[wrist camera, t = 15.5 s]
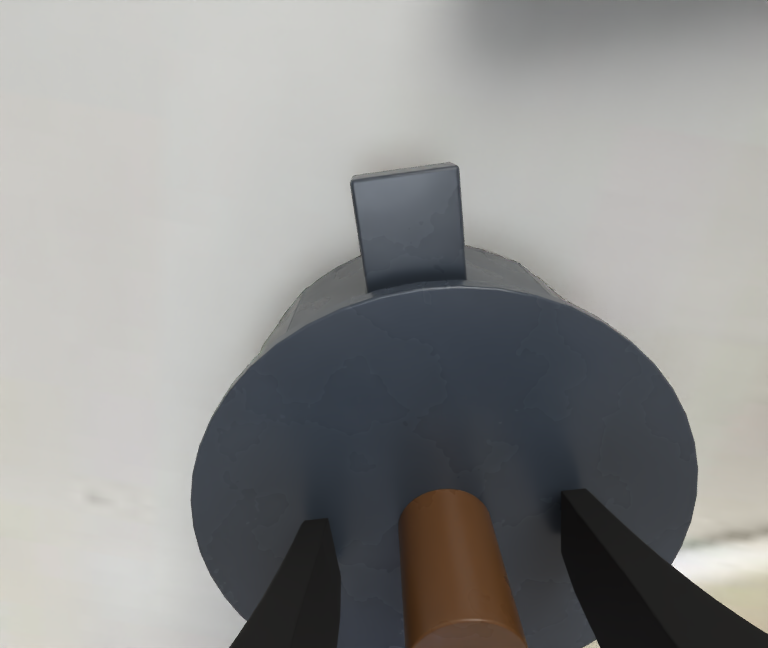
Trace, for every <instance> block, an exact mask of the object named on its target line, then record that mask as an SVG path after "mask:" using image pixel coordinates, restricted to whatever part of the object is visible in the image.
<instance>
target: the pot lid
mask: <svg viewBox="0 0 768 648" xmlns="http://www.w3.org/2000/svg"><path fill="white" fill-rule="evenodd" d="M697 478H698V466H697V458H696V449H695V442H694V438H693V435H692V432H691V428H690V425H689V422H688V419H687V415H686V413H685V411H684V409H683V407H682V405H681V403H680V401H679V399H678V397H677V395H676V393H675V391H674V389H673V388H672V386H671V385H670V384H669V382H668V381H667V380H666V378H665V377H664V376H663V374H662V373H661V372H660V370H659V369H658V368H657V366H656V365H655V364H654V363H653V362H652V361H651V360H650V359H649V358H648V357H647V356H646V355H645V354H644V353H643V352H642V351H641V350H640V349H639V348H637V347H636V346H635V345H634V344H633V343H632V342H631V341H630V340H629V339H628V338H627V337H625V336H624V335H623V334H622V333H620V332H619V331H617V330H616V329H614V328H613V327H611V326H610V325H609V324H607V323H606V322H604V321H603V320H601V319H600V318H599V317H597V316H595V315H593V314H591V313H589V312H587V311H585V310H583V309H581V308H579V307H577V306H575V305H573V304H571V303H569V302H567V301H565V300H562V299H559V298H556V297H553V296H550V295H547V294H544V293H541V292H538V291H535V290H532V289H528V288H523V287H517V286H512V285H507V284H501V283H496V282H485V281H468V280H445V281H430V282H416V283H411V284H406V285H401V286H395V287H390V288H385V289H380V290H376V291H373V292H370V293H367V294H364V295H361V296H358V297H355V298H352V299H349V300H346V301H343V302H341V303H338V304H336V305H334V306H332V307H330V308H328V309H326V310H324V311H322V312H320V313H317V314H315V315H313V316H311V317H309V318H307V319H306V320H304V321H303V322H301V323H300V324H298V325H297V326H295V327H294V328H292V329H291V330H289V331H287V332H286V333H284V334H283V335H281V336H280V337H278V338H277V339H276V340H275V341H274V342H273V343H272V344H270V345H269V346H268V347H267V348H266V349H265V350H263V351H262V352H261V353H260V354H259V355H258V356H256V357H255V358H254V359H253V360H252V361H251V362H250V364H249V365H248V366H247V367H246V368H245V369H244V371H243V372H242V373H241V374H240V375H239V376H238V377H237V379H236V380H235V381H234V382H233V383H232V385H231V386H230V388H229V389H228V391H227V393H226V394H225V396H224V397H223V399H222V401H221V402H220V404H219V405H218V407H217V408H216V410H215V412H214V414H213V416H212V417H211V419H210V422H209V424H208V426H207V429H206V431H205V434H204V436H203V438H202V441H201V443H200V445H199V449H198V453H197V457H196V461H195V465H194V470H193V475H192V489H191V508H192V518H193V527H194V531H195V535H196V539H197V542H198V546H199V550H200V553H201V555H202V557H203V560H204V562H205V564H206V566H207V568H208V571H209V573H210V575H211V577H212V578H213V580H214V581H215V583H216V584H217V586H218V588H219V589H220V591H221V592H222V594H223V595H224V597H225V598H226V599H227V600H228V601H229V603H230V604H231V605H232V606H233V607H234V608H235V610H236V611H237V612H238V613H239V614H240V615H241V616H242V617H243V618H244V619H245V620H246V621H248V619H249V618H250V616H251V615H252V613H253V611H254V610H255V608H256V607H257V605H258V604H259V602H260V600H261V599H262V597H263V595H264V594H265V592H266V590H267V589H268V587H269V585H270V583H271V582H272V580H273V578H274V576H275V575H276V573H277V571H278V569H279V568H280V566H281V564H282V562H283V560H284V558H285V556H286V554H287V553H288V551H289V549H290V547H291V545H292V543H293V541H294V539H295V537H296V534H297V532H298V530H299V528H300V526H301V524H302V523H303V522H304V521H305V520H314V519H322V518H328V520H329V524H330V529H331V533H332V538H333V542H334V547H335V551H336V556H337V560H338V565H339V569H340V574H341V610H340V625H339V634H338V642H337V648H583V647H584V646H586V645H588V644H590V643H592V642H593V641H595V640H596V637H595V635H594V633H593V631H592V629H591V627H590V625H589V622H588V620H587V618H586V616H585V614H584V612H583V610H582V607H581V605H580V603H579V601H578V599H577V596H576V594H575V592H574V589H573V586H572V583H571V580H570V578H569V575H568V572H567V569H566V566H565V563H564V560H563V557H562V554H561V491H566V490H575V489H584V488H586V489H587V490H588V491H590V492H591V493H592V494H593V495H594V496H595V497H596V498H597V499H598V500H599V501H600V502H601V503H602V504H603V505H604V506H605V507H606V508H607V509H608V510H609V511H610V512H612V513H613V514H614V515H615V516H616V517H617V518H618V519H619V520H620V521H621V522H622V523H623V524H624V525H625V526H627V527H628V528H629V529H630V530H631V531H632V532H633V533H634V534H635V535H636V536H638V537H639V538H640V539H641V540H642V541H643V542H644V543H646V544H647V545H648V546H649V547H650V548H651V549H653V550H654V551H655V552H656V553H657V554H658V555H659V556H661V557H662V558H663V559H664V560H665V561H667V562H668V563H669V564H670V565H671V564H672V563H673V561H674V559H675V557H676V555H677V554H678V552H679V550H680V548H681V546H682V544H683V541H684V539H685V536H686V533H687V531H688V528H689V526H690V523H691V520H692V515H693V510H694V506H695V501H696V496H697Z"/></svg>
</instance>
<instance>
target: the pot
mask: <svg viewBox="0 0 768 648" xmlns="http://www.w3.org/2000/svg"><path fill="white" fill-rule="evenodd" d="M350 186H351V193H352V199H353V206H354V213H355V219H356V226H357V232H358V239H359V246H360V252H361V256H359V257H357V258H355V259H353V260H351V261H349V262H347V263H345V264H342V265H340V266H338V267H337V268H335V269H334V270H332V271H330V272H329V273H327V274H326V275H324V276H323V277H321V278H320V279H318V280H317V281H316V282H315V283H314V284H313V285H311V286H310V287H308V288H306V289H305V291H303V292H302V293H301V294H300V296H299V297H298V299H297V300H296V301H295V302H294V303H293V304H292V306H291V307H290V308H289V309H288V310H287V311H286V313H285V314H284V316H283V317H282V319H281V320H280V322H279V324H278V325H277V327H276V328H275V329H274V331H273V332H272V333H271V335H270V336H269V338H268V339H267V340H266V342H265V343H264V345H263V347H262V349H261V351H260V353H261V352H262V351H263V350H265V349H266V348H267V347H268V346H269V345H270V344H272V343H273V342H274V341H275V340H276V339H277V338H278V337H280V336H281V335H283V334H284V333H286V332H287V331H289V330H291V329H292V328H294V327H295V326H297V325H298V324H300V323H301V322H303V321H304V320H306V319H307V318H309V317H311V316H313V315H315V314H317V313H320V312H322V311H324V310H326V309H328V308H330V307H332V306H334V305H336V304H338V303H341V302H343V301H346V300H349V299H352V298H355V297H358V296H361V295H364V294H367V293H370V292H373V291H376V290H380V289H385V288H390V287H395V286H401V285H406V284H411V283H416V282H430V281H445V280H468V281H485V282H496V283H501V284H507V285H512V286H517V287H523V288H528V289H532V290H535V291H538V292H541V293H544V294H547V295H550V296H553V297H556V298H559V299H562V300H564V299H563V298H562V297H560V296H559V295H558V294H557V293H556V292H554V291H553V290H552V289H551V288H549V287H548V286H547V285H546V284H545V283H544V282H543V281H541V280H540V279H539V278H538V277H536V276H535V275H533V274H532V273H531V272H530V271H528V270H527V269H526V268H525V267H523V266H522V265H521V264H520V263H517V262H516V261H512V260H509V259H506V258H504V257H502V256H499V255H496V254H493V253H490V252H487V251H485V250H482V249H479V248H473V247H468V246H465V243H464V229H463V215H462V201H461V187H460V173H459V167H458V166H457V165H455V164H453V163H451V162H447V163H440V164H433V165H426V166H418V167H411V168H404V169H397V170H389V171H382V172H375V173H368V174H360V175H354V176H353V177H352V179H351V182H350ZM260 353H259V354H260Z"/></svg>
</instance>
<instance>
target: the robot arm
mask: <svg viewBox="0 0 768 648" xmlns="http://www.w3.org/2000/svg"><path fill="white" fill-rule="evenodd" d="M561 554H562V557H563V560H564V563H565V566H566V569H567V572H568V575H569V578H570V580H571V583H572V586H573V589H574V592H575V594H576V596H577V599H578V601H579V603H580V605H581V607H582V610H583V612H584V614H585V616H586V618H587V620H588V622H589V625H590V627H591V629H592V631H593V633H594V635H595V637H596V639H597V642H598V644H599V646H600V648H768V634H767V633H765V632H763V631H762V630H760V629H759V628H757V627H755V626H754V625H752V624H751V623H749V622H748V621H746V620H745V619H743V618H742V617H740V616H739V615H737V614H736V613H734V612H733V611H731V610H730V609H729V608H727V607H726V606H724V605H723V604H721V603H720V602H719V601H717V600H716V599H714V598H713V597H712V596H710V595H709V594H707V593H706V592H705V591H703V590H702V589H701V588H699V587H698V586H697V585H696V584H694V583H693V582H692V581H690V580H689V579H688V578H687V577H685V576H684V575H683V574H682V573H680V572H679V571H678V570H676V569H675V568H674V567H673V566H671V565H670V564H669V563H668V562H667V561H665V560H664V559H663V558H662V557H661V556H659V555H658V554H657V553H656V552H655V551H654V550H653V549H651V548H650V547H649V546H648V545H647V544H646V543H644V542H643V541H642V540H641V539H640V538H639V537H638V536H636V535H635V534H634V533H633V532H632V531H631V530H630V529H629V528H628V527H627V526H625V525H624V524H623V523H622V522H621V521H620V520H619V519H618V518H617V517H616V516H615V515H614V514H613V513H612V512H610V511H609V510H608V509H607V508H606V507H605V506H604V505H603V504H602V503H601V502H600V501H599V500H598V499H597V498H596V497H595V496H594V495H593V494H592V493H591V492H590V491H588V490H587V489H586V488H584V489H575V490H566V491H561ZM340 610H341V574H340V569H339V565H338V560H337V556H336V551H335V547H334V542H333V538H332V533H331V529H330V524H329V520H328V518H322V519H314V520H305V521H304V522H303V523H302V524H301V526H300V528H299V530H298V532H297V534H296V537H295V539H294V541H293V543H292V545H291V547H290V549H289V551H288V553H287V554H286V556H285V558H284V560H283V562H282V564H281V566H280V568H279V569H278V571H277V573H276V575H275V576H274V578H273V580H272V582H271V583H270V585H269V587H268V589H267V590H266V592H265V594H264V595H263V597H262V599H261V600H260V602H259V604H258V605H257V607H256V608H255V610H254V611H253V613H252V615H251V616H250V618H249V619H248V621H247V622H246V624H245V625H244V627H243V629H242V630H241V631H240V633H239V634H238V636H237V637H236V639H235V640H234V642H233V643H232V644H231V646H230V647H229V648H337V642H338V634H339V625H340Z"/></svg>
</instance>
